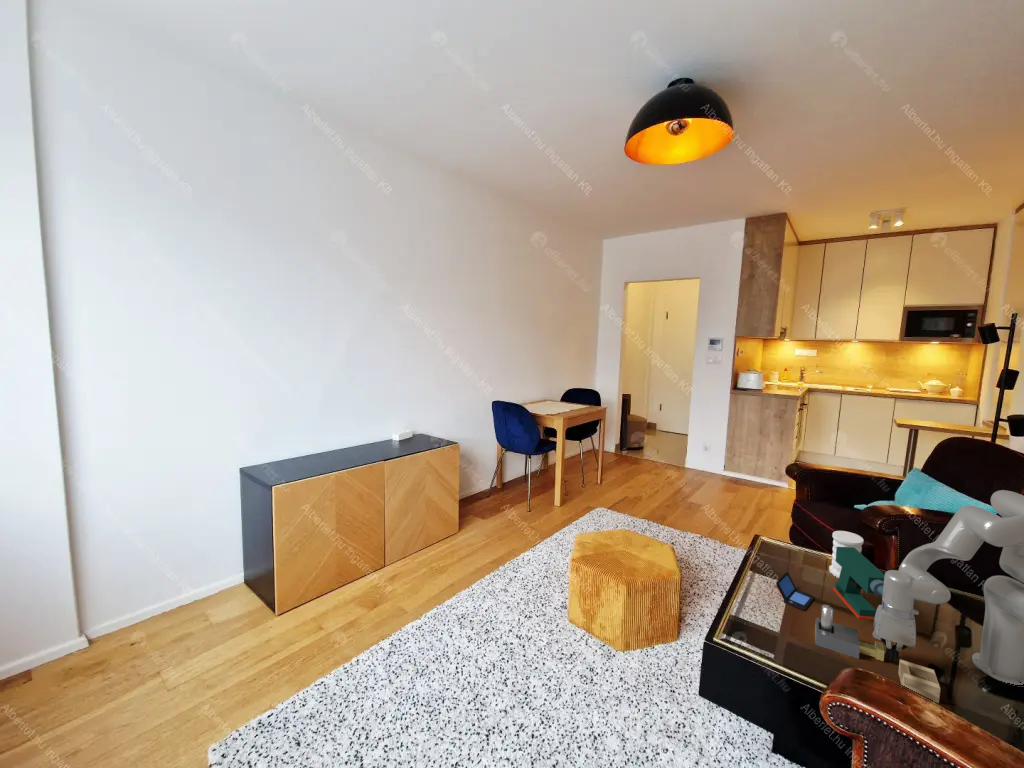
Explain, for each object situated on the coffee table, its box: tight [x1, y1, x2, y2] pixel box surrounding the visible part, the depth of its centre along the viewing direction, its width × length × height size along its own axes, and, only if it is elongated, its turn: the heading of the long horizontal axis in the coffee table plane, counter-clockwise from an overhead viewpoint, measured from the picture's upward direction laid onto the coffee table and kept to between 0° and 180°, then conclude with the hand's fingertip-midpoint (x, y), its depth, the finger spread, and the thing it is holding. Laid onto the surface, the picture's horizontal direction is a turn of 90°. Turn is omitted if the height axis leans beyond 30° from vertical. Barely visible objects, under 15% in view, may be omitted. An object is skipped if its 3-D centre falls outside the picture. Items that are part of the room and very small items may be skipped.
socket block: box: [814, 617, 860, 660], centre depth 150 cm, size 12×9×5 cm
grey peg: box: [820, 604, 834, 633], centre depth 151 cm, size 3×3×13 cm
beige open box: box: [898, 659, 941, 704], centre depth 131 cm, size 8×8×5 cm
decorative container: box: [828, 530, 864, 579], centre depth 188 cm, size 12×12×18 cm
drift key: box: [859, 640, 885, 662], centre depth 146 cm, size 12×4×4 cm, turn 55°
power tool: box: [832, 547, 885, 621], centre depth 162 cm, size 32×7×20 cm, turn 168°
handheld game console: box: [775, 572, 815, 612], centre depth 174 cm, size 12×11×7 cm
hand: (891, 657), depth 141 cm, fingers closed
